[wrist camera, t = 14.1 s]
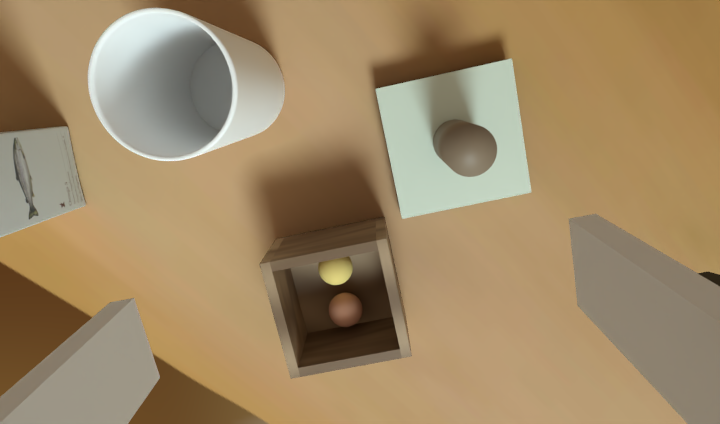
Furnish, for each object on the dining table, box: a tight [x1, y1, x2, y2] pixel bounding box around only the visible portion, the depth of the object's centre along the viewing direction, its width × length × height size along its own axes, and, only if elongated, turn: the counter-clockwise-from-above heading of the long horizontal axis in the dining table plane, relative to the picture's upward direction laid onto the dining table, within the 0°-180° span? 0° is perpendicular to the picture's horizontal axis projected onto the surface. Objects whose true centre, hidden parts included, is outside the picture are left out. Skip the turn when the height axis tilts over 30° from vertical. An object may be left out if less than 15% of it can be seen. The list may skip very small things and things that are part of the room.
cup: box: [88, 8, 285, 161], centre depth 36 cm, size 8×8×16 cm
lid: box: [375, 59, 531, 219], centre depth 39 cm, size 11×11×8 cm
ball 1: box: [318, 256, 353, 285], centre depth 45 cm, size 3×3×3 cm
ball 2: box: [329, 293, 363, 327], centre depth 45 cm, size 3×3×3 cm
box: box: [260, 217, 412, 378], centre depth 44 cm, size 10×10×7 cm
